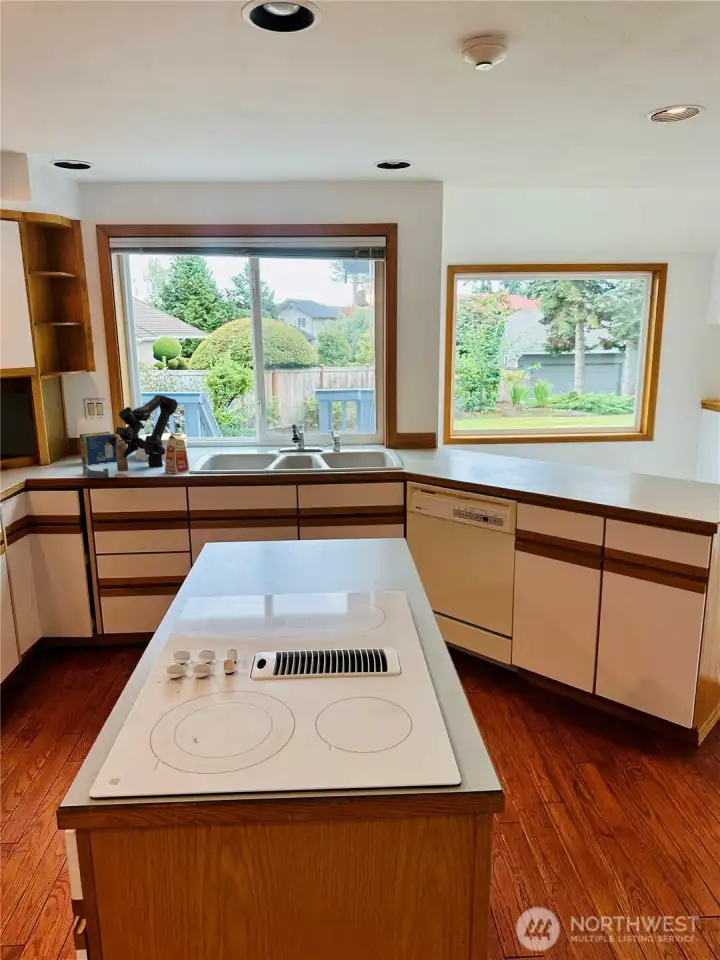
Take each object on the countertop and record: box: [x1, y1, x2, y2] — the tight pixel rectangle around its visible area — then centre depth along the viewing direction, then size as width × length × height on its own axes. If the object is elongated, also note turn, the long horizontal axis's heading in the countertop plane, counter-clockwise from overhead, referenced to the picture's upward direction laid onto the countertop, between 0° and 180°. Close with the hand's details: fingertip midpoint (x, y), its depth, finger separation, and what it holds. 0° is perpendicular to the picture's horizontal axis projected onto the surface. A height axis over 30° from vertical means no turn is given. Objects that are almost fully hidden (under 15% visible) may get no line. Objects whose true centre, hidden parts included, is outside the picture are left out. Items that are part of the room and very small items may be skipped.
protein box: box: [79, 431, 117, 466], centre depth 341 cm, size 10×15×16 cm
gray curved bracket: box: [82, 463, 110, 480], centre depth 306 cm, size 5×21×5 cm, turn 52°
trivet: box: [113, 472, 133, 479], centre depth 307 cm, size 8×8×1 cm
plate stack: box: [134, 432, 189, 461], centre depth 359 cm, size 28×28×12 cm
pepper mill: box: [115, 441, 129, 473], centre depth 305 cm, size 5×5×14 cm
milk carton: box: [164, 432, 190, 475], centre depth 315 cm, size 9×9×20 cm
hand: (119, 456), depth 304 cm, fingers closed on pepper mill, 5 cm apart
